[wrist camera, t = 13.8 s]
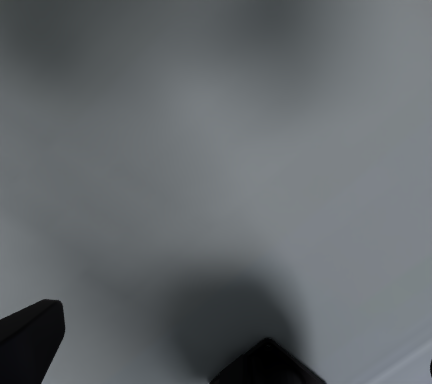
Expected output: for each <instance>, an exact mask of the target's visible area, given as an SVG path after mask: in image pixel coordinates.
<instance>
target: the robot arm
mask: <svg viewBox="0 0 432 384" xmlns="http://www.w3.org/2000/svg"><path fill="white" fill-rule="evenodd" d="M64 334H65V321H64V312H63V305H62V303H61V301H59V300H50V299H44V300H41V301H39V302H37V303H35V304H33V305H30V306H28V307H26V308H24V309H22V310H20V311H18V312H16V313H13V314H11V315H9V316H7V317H5V318H3V319H1V320H0V384H41V383H42V381H43V379H44V376H45V374H46V372H47V370H48V368H49V366H50V364H51V362H52V360H53V358H54V356H55V354H56V352H57V350H58V348H59V346H60V344H61V342H62V340H63V337H64ZM267 345H270V347H266V346H267ZM430 372H431V376H432V360H431V364H430ZM209 384H324V383H323V382H322V381H321V380H320V379H318V378H317V377H316V376H315V375H314V374H313V373H311V372H310V371H309V370H308V369H307V368H306V367H304V366H303V365H302V364H301V363H300V362H298V361H297V360H296V359H295V358H294V357H293V356H291V355H290V354H289V353H288V352H287V351H286V350H284V349H283V348H282V347H281V346H280V345H278V344H277V343H276V342H275V341H274V340H272V339H270V338H266V339H264V340H262V341H261V342H260V343H258V344H257V345H256V346H255V347H253V348H252V349H251V350H249V351H248V352H247V353H246V354H244V355H241V356H240V357H239V358H238V359H236V360H235V361H234V362H233V363H231V364H230V365H229V366H228V367H226V368H225V369H224V370H222V371H221V372H220V374H219V375H218V376H217V377H215V378H214V379H213V380H212V381H211V382H210V383H209Z"/></svg>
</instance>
